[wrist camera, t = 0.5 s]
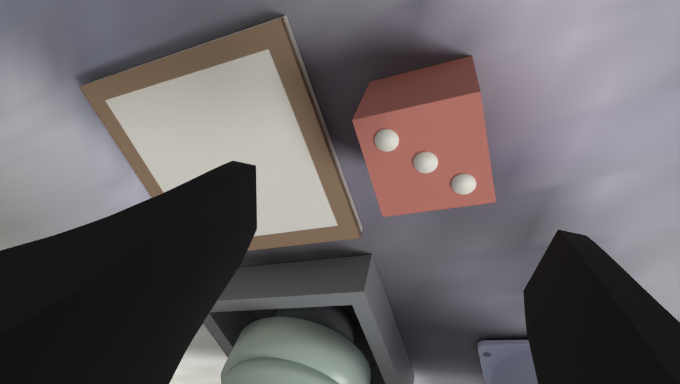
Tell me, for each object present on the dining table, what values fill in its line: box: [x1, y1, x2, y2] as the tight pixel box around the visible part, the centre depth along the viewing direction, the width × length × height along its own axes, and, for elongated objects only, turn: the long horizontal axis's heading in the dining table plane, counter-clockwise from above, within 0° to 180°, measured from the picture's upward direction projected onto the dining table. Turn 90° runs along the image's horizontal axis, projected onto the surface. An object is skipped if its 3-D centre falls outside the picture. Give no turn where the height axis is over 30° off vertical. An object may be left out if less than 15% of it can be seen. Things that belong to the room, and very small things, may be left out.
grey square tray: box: [203, 254, 414, 384], centre depth 27 cm, size 12×12×3 cm
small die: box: [352, 56, 496, 217], centre depth 16 cm, size 4×4×5 cm
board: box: [80, 15, 363, 251], centre depth 22 cm, size 12×12×1 cm
